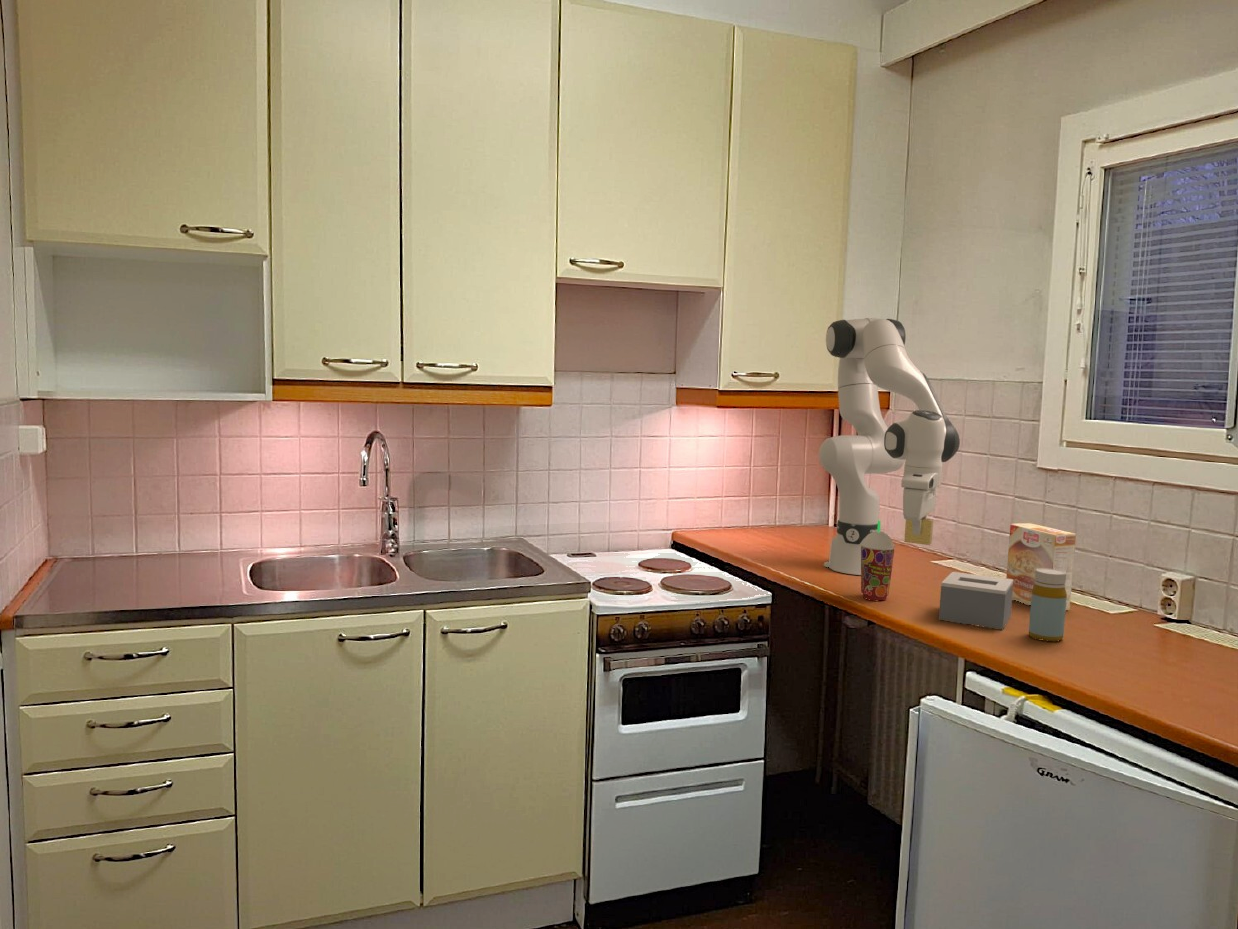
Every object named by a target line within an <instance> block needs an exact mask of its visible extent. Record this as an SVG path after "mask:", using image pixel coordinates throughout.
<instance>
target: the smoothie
mask: <svg viewBox="0 0 1238 929" xmlns="http://www.w3.org/2000/svg"><path fill="white" fill-rule="evenodd" d="M881 522H882V520H879V521H878V528H877V531H875V532H871V533H870V534H868V535H867V536H866V537H865V538H864V540H863V542H862V543H861V575H860V592H861V593H862V597H863V599H865V598H867V599H870V600H869V601H871V600H884V601H886V600H887V597H888V596H889V595H890V590H891V588H890V586H891V579H892V572H893V563H894V556H895V549H896V546H895V545H894V542H893V540H892V538H891V537H890V536H889V534H887V533H885V532H883V531H881V525H880V523H881ZM867 599H866V600H867Z"/></svg>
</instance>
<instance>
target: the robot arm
mask: <svg viewBox="0 0 1238 929" xmlns="http://www.w3.org/2000/svg"><path fill="white" fill-rule="evenodd" d="M825 345H826V349H827V351H828V353H829V354H830V355H831V356H832V357H834V358H839V361H838V370H837V394H838V405H839V406H838V407H839V409H838V410H839V414H840V416H841V418H842V419H843V420H844V421H845V422H847V423H848V424H850V425H852V427H853V428H854V429H855V431H856V433H857V434H852V435H849V434H847V435H846V434H843V435H842V434H841V435H837V436H832V437H827V438H826V439H824V441H822V443H821V445H820V448H819V450H818V451H819V452H818V457H819V463H820V464H821V466H822V468H824V470H825V471H826V472H828V474H830V476H831V477H832V478H833V480H834V482H835V484H836V487H837V491H838V495H839V501H838V502H839V511H838V512H839V515H838V516H839V517H838V520H837V522H836V523H837V524H836V533H837V534H836V535H835V536H833V537H832V538H831V541H830V549H829V557H828V559H829V560H828V561H825V562H823V567H825V568H826V567H827V568H828V567H829V568H828V569H831V570H832V571H834V572H837V573H838V572H839V573H843V574H847V575H858V576H861V543H862V542H863V540H864V538H865V537H866V536H867V535H868V534H870V533H871V532H875V531H877V528H878V521H880V505H881V504H880V502H881V499H880V495H879V493H878V492H877V491H876V490H875V489H874V488H871V487H869V486H868V485H867V483H866V479H865V474H867V475H868V474H869V475H870V474H871V475H873V474H876V475H877V474H881V475H883V474H888V473H892V472H896V471H898V470H900V469H901V468H902V467H903V476H902V478H901V483H900V485H901V488H903V490H902V491H903V493H902V513H903V518H904V520H905V521H906V520H912V527H913V531H912V533H913V535H920V534H921V521H922V518H925V519H928V515H930V513H931V512H933V511H934V510H935V507H936V502H937V501H936V500H937V499H936V498H937V488H939V487H941V486H942V476H943V463H946V462H948V461H949V460H951V459H952V458H953V457H954V456H955V455H956V454H957V452H958V451H959V448H960V441H961V439H960V434H959V433H958V431H957V428H956V427H955V426H954V424H953V423H952V422H951V421H950V420H949V418H948V416H947V414H946V412H945V410H944V408H943V405H942V404H941V401H940V400H939V397H938V396H937V393H936V392H935V389H934V388H933V386H932V384H931V382H930V380H929V378H928V377H927V375H926V374H925V373H924V372H922V371H920V370H919V368H917V366H915V364H914V363H913V362H912V360H911V359H910V357H909V356H908V353H907V350H906V347H905V345H906V330H905V327H904V325H903V323H902V322H901V321H899V320H896V319H892V318H886V319H884V318H876V317H875V318H873V317H866V318H856V319H847V320H846V319H840V320H836V321H833V322H832V323H830V325H829V326H828V328H827V330H826V335H825ZM878 388H880V389H881V390H883V391H884V390H885V391H887V392H888V391H889V392H891V393H895V394H898V395H900V396H903V397H905V398H907V399H909V400H910V401H912V402H913V403H914V404H915V406H916V407H917V410H914V411H911V412H910V414H909V416H908V418H905V419H903V420H901V421H898V422H894V423H892V424H891V425H890V426H888V425H887V424H886V422H885V420H884V418H883V414H882V411H881V406H880V399H879V389H878ZM903 465H904V466H903ZM880 526H881V523H880Z"/></svg>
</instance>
